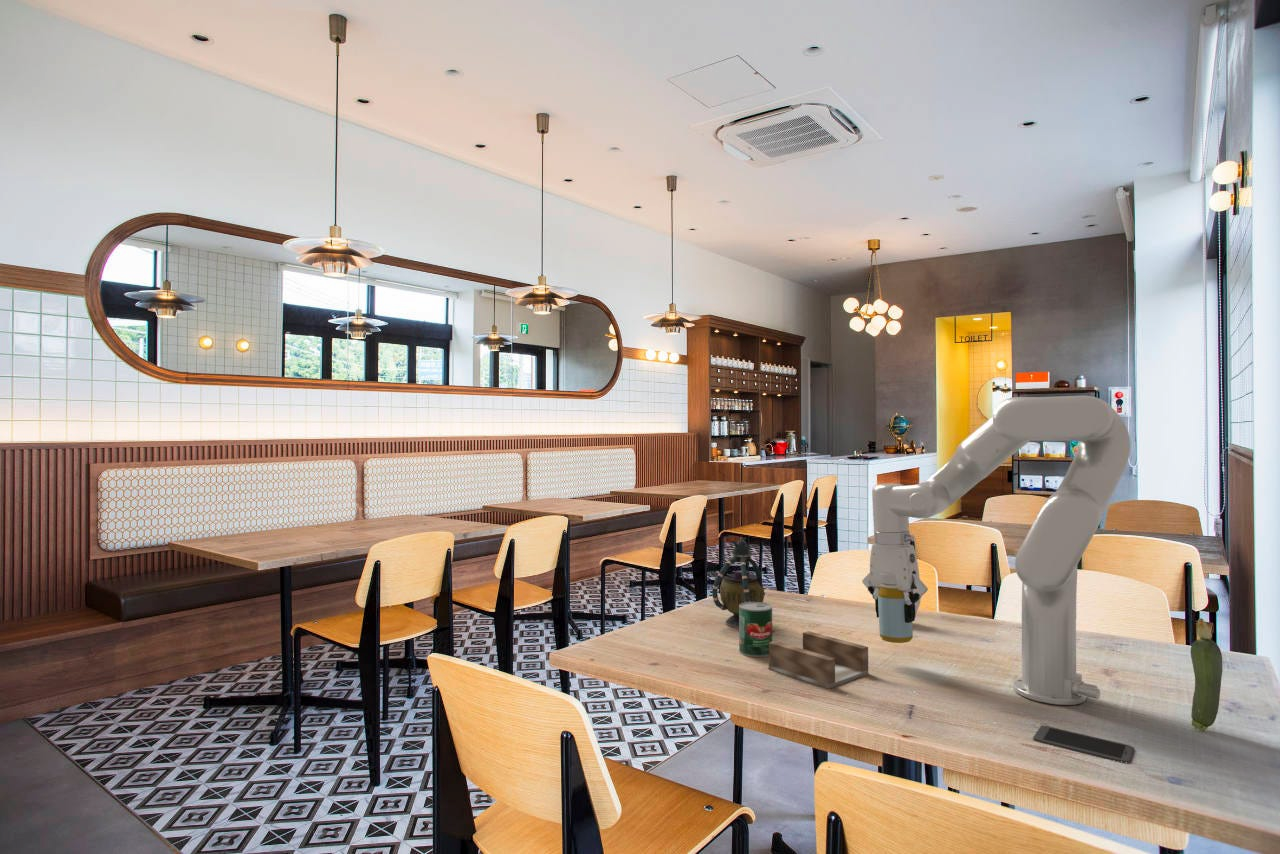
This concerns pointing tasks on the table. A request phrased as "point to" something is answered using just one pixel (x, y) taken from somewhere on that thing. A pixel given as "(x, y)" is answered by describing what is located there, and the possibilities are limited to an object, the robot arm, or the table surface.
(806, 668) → the u rest
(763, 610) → the canned tomato
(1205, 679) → the vegetable
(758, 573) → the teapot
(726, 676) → the table surface
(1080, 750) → the cell phone
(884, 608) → the bottle
